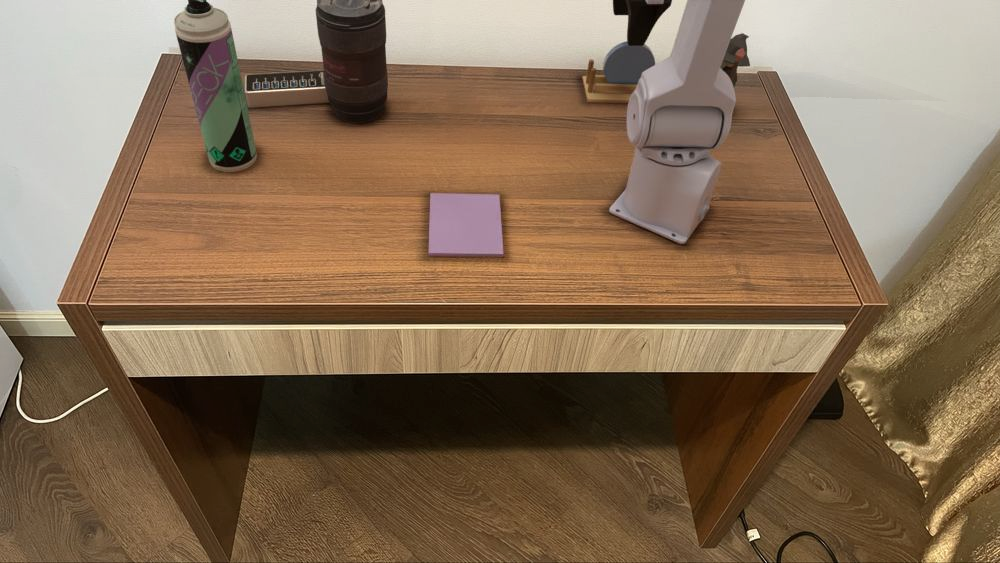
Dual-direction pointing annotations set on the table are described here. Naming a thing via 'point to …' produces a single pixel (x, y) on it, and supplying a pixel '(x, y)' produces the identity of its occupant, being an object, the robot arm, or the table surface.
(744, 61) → the wizard figurine
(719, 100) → the robot arm
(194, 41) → the spray can
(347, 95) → the camera lens
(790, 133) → the table surface
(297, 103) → the multiport hub
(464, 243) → the mat
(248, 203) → the table surface
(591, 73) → the rack
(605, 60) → the plate
